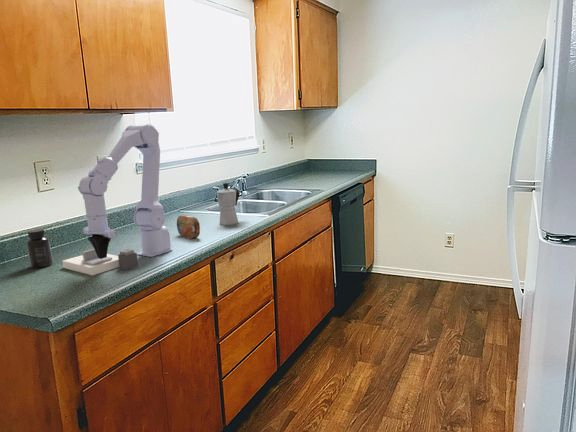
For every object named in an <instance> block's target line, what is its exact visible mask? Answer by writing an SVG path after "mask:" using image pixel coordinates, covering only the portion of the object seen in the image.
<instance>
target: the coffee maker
mask: <svg viewBox="0 0 576 432" xmlns="http://www.w3.org/2000/svg"><path fill="white" fill-rule="evenodd" d="M222 184H223V185H222V186H223V188H222V189H220V190H217V191H216V192H215V194H216V198H217V202H218V206H219V207H220V211H219V225H220V226H227V227H228V226H235V225H237V224H239V220H238V215H237V211H236V208H235V207H236V206H237V204H238V200H239V198H240V197H239V196H240V192H239V189H238V188H233V187H232V188H229V182H224V183H222Z"/></svg>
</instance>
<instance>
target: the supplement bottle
mask: <svg viewBox="0 0 576 432" xmlns="http://www.w3.org/2000/svg"><path fill="white" fill-rule="evenodd" d="M27 235H28V238H29V239H27V241H26V243H25V244H26V250H27V256H28V260H29V265H30V267H31V268H32V269H41V268H47V267H49V266H51V265H53V263H54V261H53V260H54V259H53V254H52V249H51V242H50V239H49V238H48V237H47V236H45V235H46V233H45V229H44V228H43V229H42V228H41V229H40V228H39V229H33V230H29V231H28V232H27Z"/></svg>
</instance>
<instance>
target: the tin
mask: <svg viewBox="0 0 576 432" xmlns="http://www.w3.org/2000/svg"><path fill="white" fill-rule="evenodd" d="M200 225H201V224H200V221H199V220H198V218H197V217H195V216H191V215H190V216H189V215H179V216H177V219H176V229H177V233H178V234H179V235H180V237H183V238H188V239H190V240H191V239H196V238H198V237H199V236H200V235H201V234H200V233H201V228H200Z"/></svg>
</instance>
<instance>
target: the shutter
mask: <svg viewBox="0 0 576 432" xmlns="http://www.w3.org/2000/svg"><path fill="white" fill-rule="evenodd" d="M81 253H82V255H83V260H81V261H82V263H87V264H91V265H95V264H99V263H102V262H105V261H109V260H112V257H106V258H103V259H99V258H98V256H97V254H96V251H95V249H94V248H91V249H89V250H85V251H82V252H81Z"/></svg>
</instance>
